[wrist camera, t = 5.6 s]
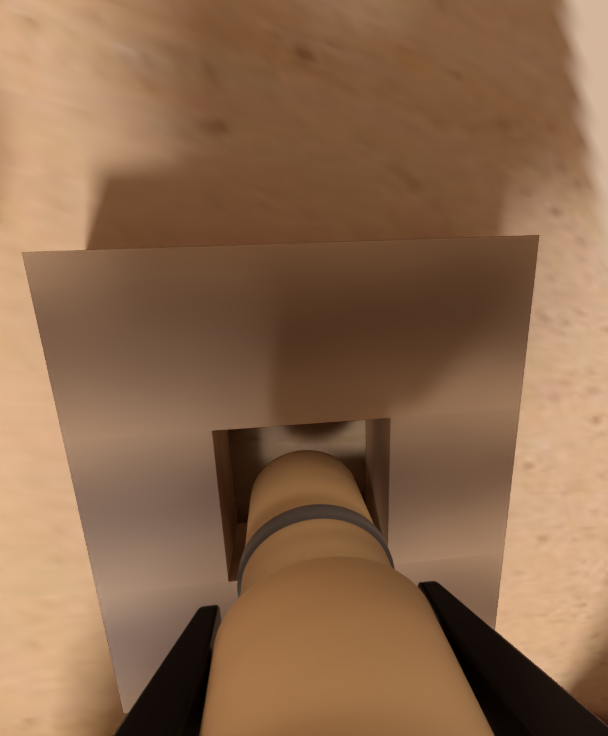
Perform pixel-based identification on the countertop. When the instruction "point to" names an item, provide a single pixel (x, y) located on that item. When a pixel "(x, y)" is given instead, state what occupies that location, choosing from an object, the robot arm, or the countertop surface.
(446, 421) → the board
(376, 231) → the countertop surface
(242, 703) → the peg
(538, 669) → the robot arm
